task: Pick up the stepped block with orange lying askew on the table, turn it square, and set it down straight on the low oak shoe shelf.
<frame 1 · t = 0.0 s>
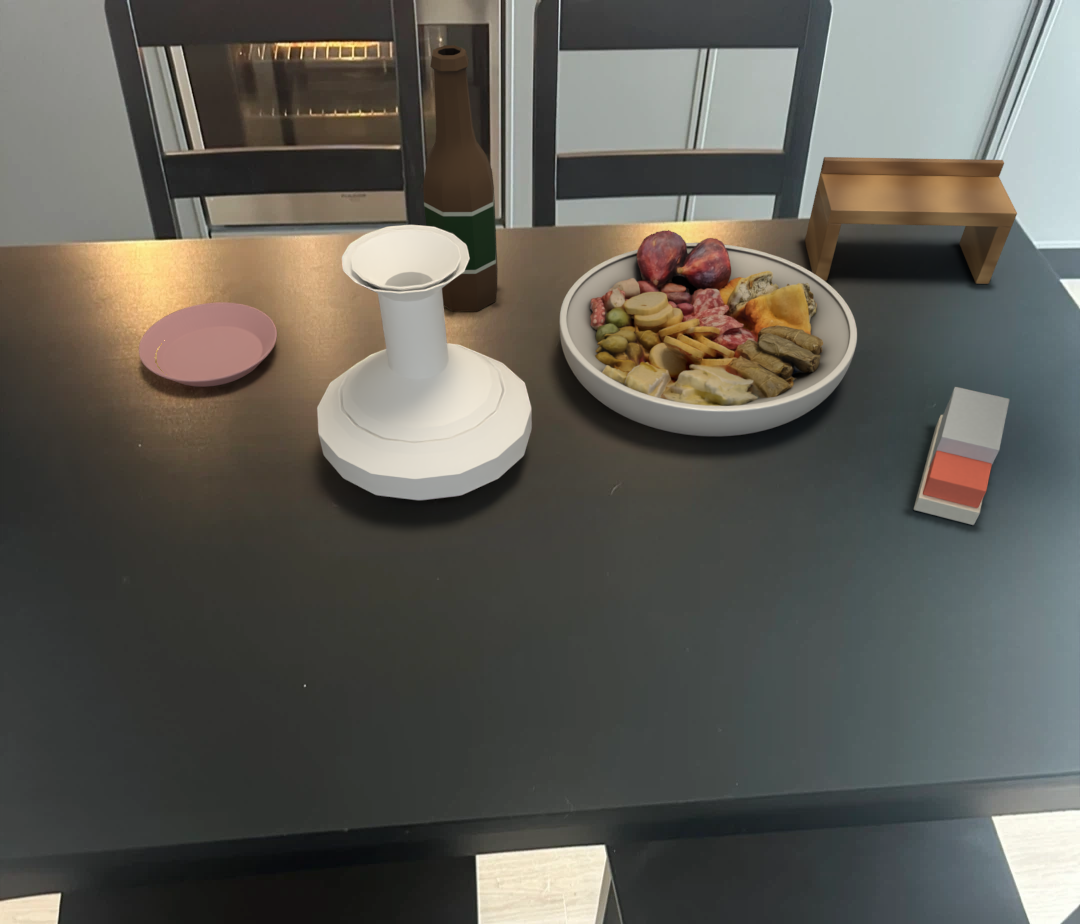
beer bottle: (466, 296, 107), on the table
candle holder: (430, 455, 91), on the table
bowl: (700, 363, 99), on the table
stepped block with orange: (953, 474, 88), on the table
plate: (214, 358, 100), on the table
shoe shelf: (894, 261, 110), on the table
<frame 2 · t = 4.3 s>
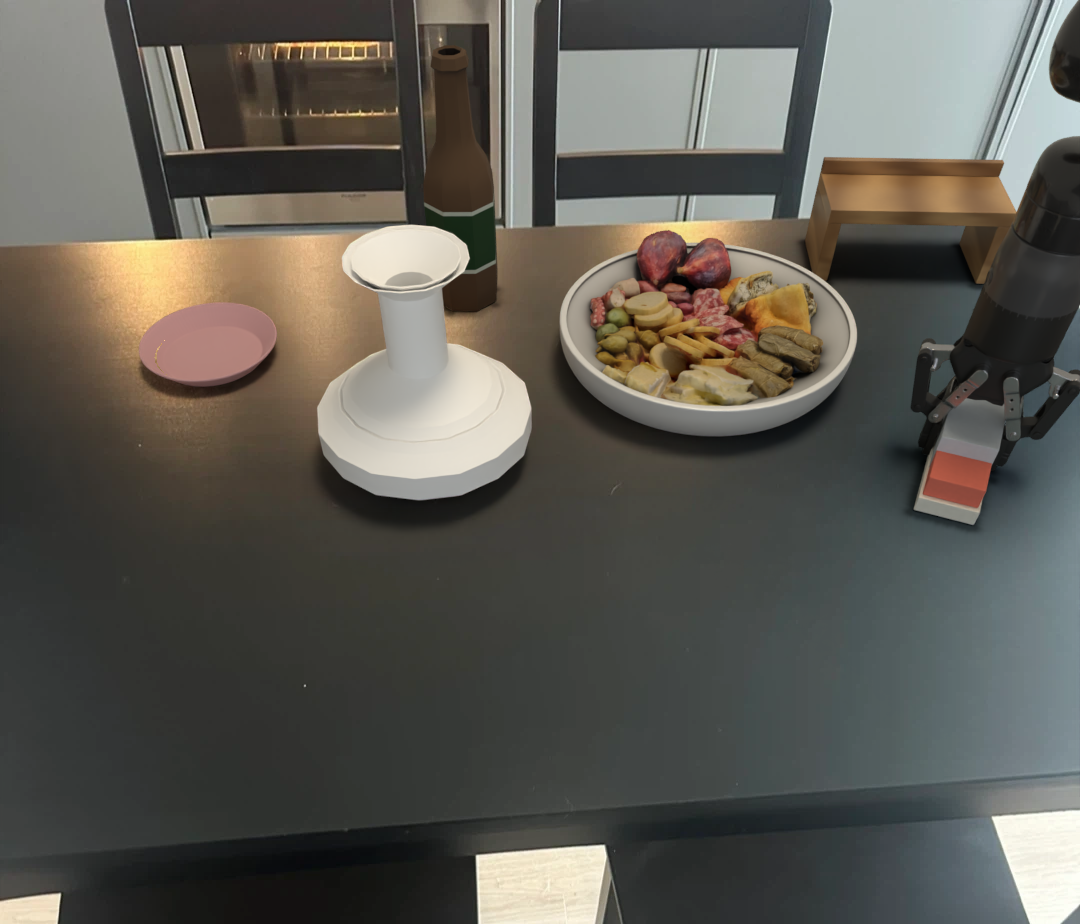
hand: (958, 456, 89), 0 cm above the table, tool pointing down, fingers closed on stepped block with orange, 5 cm apart
stepped block with orange: (953, 473, 88), on the table, touching gripper
everything else where it was.
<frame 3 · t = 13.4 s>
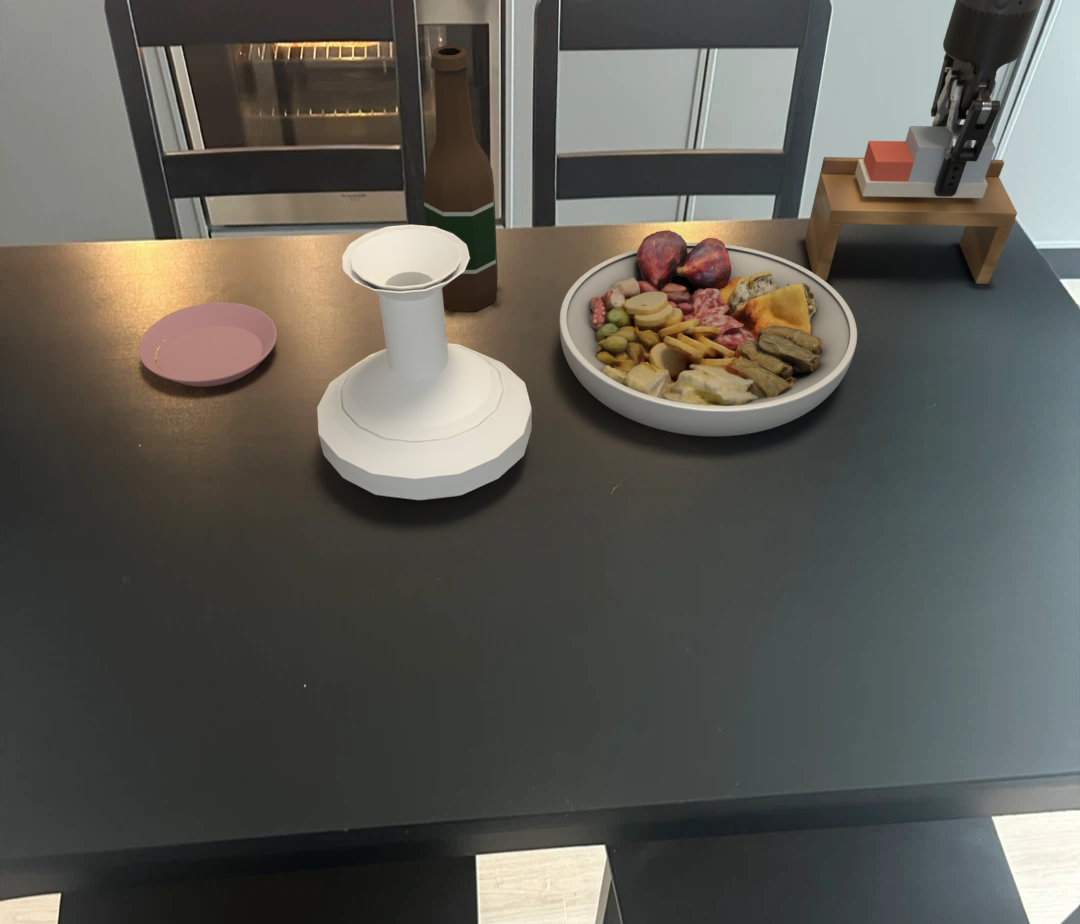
hand: (938, 181, 103), 9 cm above the table, tool pointing down, fingers closed on stepped block with orange, 5 cm apart
stepped block with orange: (917, 185, 103), point 9 cm above the table, touching gripper
everything else where it was.
when the fingers open (10 cm above the table, at t = 19.0 s): stepped block with orange drops 1 cm, resting on shoe shelf.
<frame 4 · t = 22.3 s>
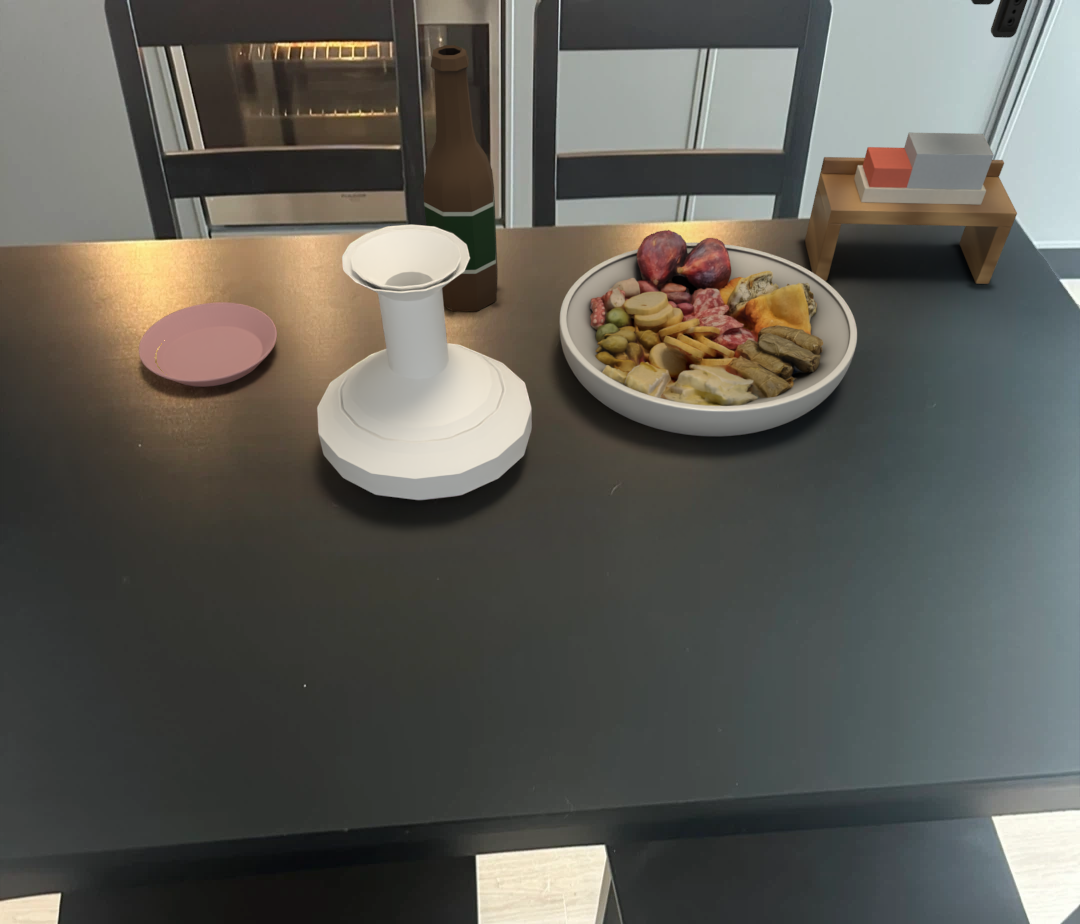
hand: (990, 19, 91), 24 cm above the table, tool pointing down, fingers open, 8 cm apart
stepped block with orange: (916, 191, 104), point 8 cm above the table, touching shoe shelf
everything else where it was.
at the end: stepped block with orange inside the target area on the shoe shelf (0.1 cm from its centre), point 8.0 cm above the shoe shelf's base; stepped block with orange tilted 0°; the gripper is holding nothing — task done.
